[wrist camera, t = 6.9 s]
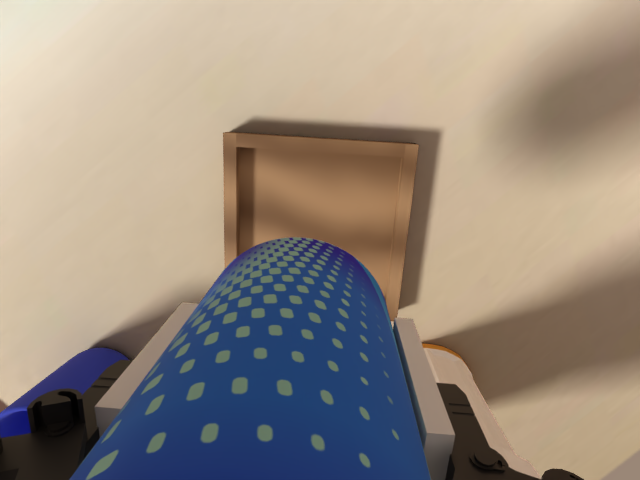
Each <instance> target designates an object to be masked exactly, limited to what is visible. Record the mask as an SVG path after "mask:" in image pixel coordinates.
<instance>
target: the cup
mask: <svg viewBox="0 0 640 480" xmlns="http://www.w3.org/2000/svg"><path fill="white" fill-rule="evenodd" d="M422 346H423V349H424V351H425V354H426V357H427V359H428V362H429V365H430V368H431V370H432V373H433V376H434V378H435V381H436V383H448V384H456V385H457V386H458V387H459V388H460V389H461V390H462V391H463V392H464V393H465V394H466V396H467V398H468V400H469V403H470V405H471V407H472V409H473V411H474V413H475V416H476V418H477V420H478V422H479V424H480V427H481V429H482V431H483V433H484V435H485V437H486V440H487V442H488V444H489V446H490V448H492V449H494V450H496V451H497V452H498V453H499V454H501V455H502V456H503V457H504V459H505V460H506V462H507V463H508V465H509V467H510V468H512V469H513V470H516V471H518V472H521V473H523V474H527V475H530V476H533V477H536V478H539V479H541V476H540V475H539V474H538V472H537V471H536V470H535V468H534V467H533V465H532V464H531V463H530V462H529V461H527V460H525V459H523V458H521V457H520V456H518V455H516V454H515V452H514V451H513V449H512V447H511V445H510V444H509V442H508V440H507V438H506V437H505V435H504V433H503V431H502V430H501V428H500V426H499V424H498V422H497V421H496V419H495V417H494V415H493V414H492V412H491V410H490V408H489V407H488V405H487V403H486V401H485V400H484V398H483V396H482V394H481V393H480V391H479V389H478V387H477V386H476V384H475V382H474V380H473V376H472V373H471V372H470V370H469V368H468V366H467V365H466V363H465V362H464V360H463V359H462V358H461V357H460V355H458V354H457V353H455V352H453V351H451V350H449V349H447V348H445V347H443V346H438V345H432V344H422Z"/></svg>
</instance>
